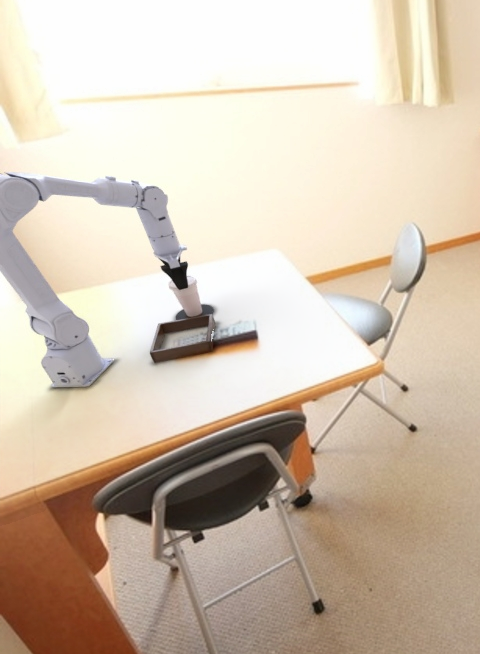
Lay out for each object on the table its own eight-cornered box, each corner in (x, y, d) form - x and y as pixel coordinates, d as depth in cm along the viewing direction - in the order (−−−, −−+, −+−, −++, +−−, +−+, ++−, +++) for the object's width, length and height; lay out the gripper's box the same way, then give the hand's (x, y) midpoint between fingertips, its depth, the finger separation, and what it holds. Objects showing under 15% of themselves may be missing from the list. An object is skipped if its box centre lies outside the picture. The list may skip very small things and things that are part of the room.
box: (212, 351, 118) (208, 341, 116) (154, 363, 114) (149, 352, 112) (215, 323, 128) (212, 313, 126) (162, 333, 124) (158, 323, 122)
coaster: (204, 323, 128) (204, 321, 128) (169, 323, 127) (168, 322, 127) (219, 305, 135) (218, 304, 135) (186, 305, 135) (185, 304, 135)
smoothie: (188, 322, 127) (168, 274, 120) (176, 313, 131) (156, 267, 123) (212, 311, 132) (195, 265, 124) (200, 304, 135) (183, 258, 127)
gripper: (185, 239, 115) (203, 289, 123) (174, 220, 125) (192, 268, 132) (150, 246, 112) (171, 297, 119) (142, 226, 121) (162, 275, 129)
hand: (180, 282), depth 126 cm, fingers open, 7 cm apart
